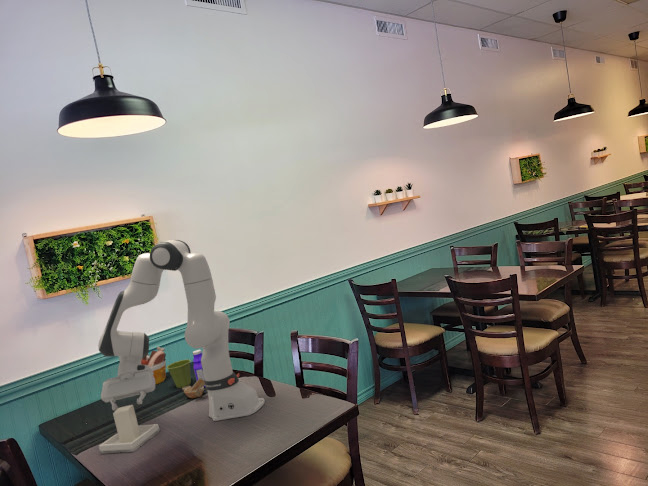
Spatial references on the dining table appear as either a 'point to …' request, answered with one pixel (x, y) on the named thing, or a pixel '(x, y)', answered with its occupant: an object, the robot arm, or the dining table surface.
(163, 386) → the dining table surface
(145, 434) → the tray
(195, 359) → the bottle
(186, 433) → the dining table surface
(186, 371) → the plant pot
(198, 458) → the dining table surface
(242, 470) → the dining table surface
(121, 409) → the white upright block
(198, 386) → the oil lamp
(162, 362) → the bucket of meat
